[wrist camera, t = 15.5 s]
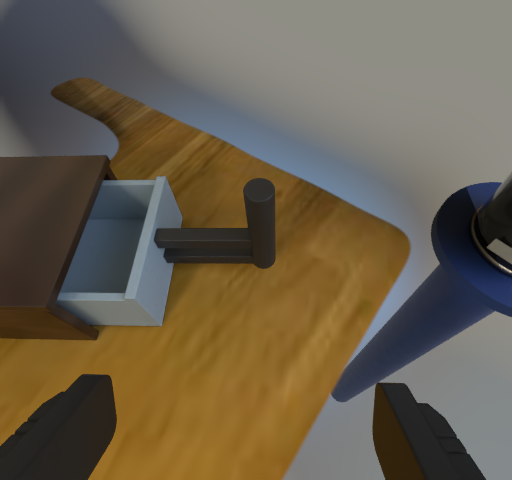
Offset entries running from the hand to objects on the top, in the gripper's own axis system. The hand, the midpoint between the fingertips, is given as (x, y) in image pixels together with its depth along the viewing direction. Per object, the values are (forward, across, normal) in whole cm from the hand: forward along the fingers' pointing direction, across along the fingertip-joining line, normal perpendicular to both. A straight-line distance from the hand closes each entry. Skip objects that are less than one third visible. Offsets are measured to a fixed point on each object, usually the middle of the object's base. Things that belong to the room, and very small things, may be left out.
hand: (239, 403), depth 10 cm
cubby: (+20, +21, +2) cm, 29 cm away
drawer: (+19, +11, +2) cm, 22 cm away
